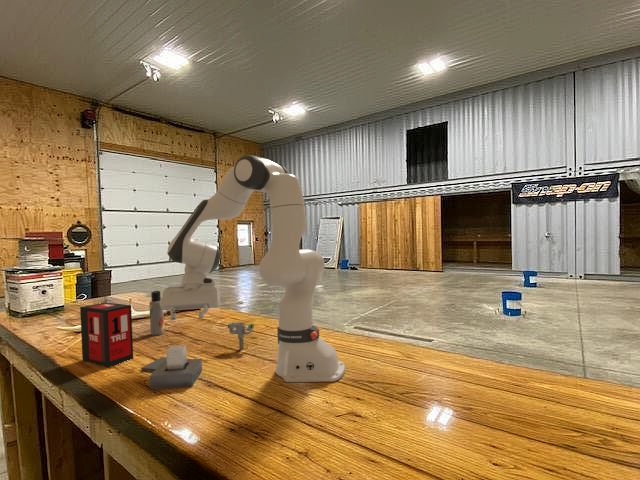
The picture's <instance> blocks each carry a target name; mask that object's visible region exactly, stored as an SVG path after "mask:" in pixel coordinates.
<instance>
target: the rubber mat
mask: <svg viewBox="0 0 640 480" xmlns="http://www.w3.org/2000/svg"><path fill="white" fill-rule="evenodd" d="M164 361H167V356H166V357H165V356H162V357H160V358H157V359H156V360H154V361H152V362H149V363H147V364H146V365H145V366H141V368H140V370H141V371H142V372H151V373H153V372H154V371H155V370H156V369H157V368H158V367H159V366H160V365H161V364H162V363H163V362H164Z"/></svg>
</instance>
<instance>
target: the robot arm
mask: <svg viewBox="0 0 640 480" xmlns="http://www.w3.org/2000/svg"><path fill="white" fill-rule="evenodd" d="M255 191H257V192H260V193H264V194H265V193H266V194H267V195H268V198H269V206H270V216H271V231H272V233H271V240H270V244H269V248H268V251H267V252H266V253H265V255H264V257H263V258H262V259H261V260H260V262H259V268H258V269H259V276H260V278H261V280H262V281H263V283H265V284H266V285H268V286H271V287H283V288H284V287H286V289H285V292H284V293H283V296H282V297H281V298H280V300H279V302H278V304H277V305H278V306H277V307H278V308H277V310H278V316H277V317H278V327H277V334H276V335H277V344H278V351H277V352H278V354H277V361H276V367H275V369H274V370H275V371H274V372H275V374H276V375H278V376H279V377H280V378H282V379H283V381H285V382H286V383H307V382H308V383H310V382H312V383H313V382H314V383H316V382H318V383H319V382H320V383H321V382H324V383H325V382H336V381H338V380H340V379H341V378H342V377H343V376H344V374H345V371H346V364H345V363H344V362H343V361H342V360H338V353H337V351H336V349H335V347H333V346H332V345H331V344H329V343H328V342H327V341H325V340H324V339H322V338H321V337H320V326H318V327H317V326H315V325H314V323H313V322H314V319H313V317H314V314H313V313H314V312H313V310H314V309H313V304H314V297H315V291H316V287H317V284H318V281H319V279H320V277H321V276H322V274H323V273H324V271H325V265H326V264H325V259H324V257H323V255H322V254H321V253H320V252H318V251H316V250H313V249H308V248H302V249H300V243H301V241H302V240H301V239H302V237H303V236H304V234H305V233H306V231H307V228H308V227H307V217H306V210H305V202H304V195H303V189H302V186H301V183H300V180H299V179H298V177H297V176H296V175H294V174H291V173H289V171H288V170H287V169H286V167H285V166H283V165H282V164H280V163H276V162H274V161H272V160H270V159H268V158H266V157H259V156H256V155H250V154H249V155H242V156H241V157H240V158H238V159H237V160H236V161H235V165H234V166H232V167H230V168H229V170H228V171H227V172H226V174H225V175H224V177H223V179H222V181H220V184H219V186H218V189H217V190H216V192H215V193H214V194H213V195H212V197H210V198H208V199H203V200H201V202H199V204H198V205H197V206H196V207H195V208H194V210H193V212H192V213H191V214H190V216H189V217H188V219H187V220H186V221H185V222H184V224H183V225H182V227H181V228H180V230H179V232H178V233H177V234H176V235H175V236H174V238H172V240H171V241H170V243H169V244H168V247H167V253H166V254H167V256H168V257H169V259H170V260H171V261H172V262H173V263H178V264H184V265H185V266H184V274H183V275H182V278H181V283H180V285H179V286H178V285H177V286H168V287H166V288H164V289H163V291H162V296H161V300H160V307H161V308H162V310H163V311H169V313H170V317H169V318H170V321H175V320H177V317H178V316H177V313H176V312H175V311H179V310H180V311H181V310H197V309H198V310H199V309H202V310H201V311H199V312H198V318H199V319H204V318H205V315H206V313H207V312H208V311H209V309H211V308H212V309H215V308H218V306H220V294H219V287H218V283H217V281H216V279H214V278H209V277H207V276H208V274H212V273H213V272H214V271H216V270H217V268H218V267H219V265H220V262H221V261H220V260H221V256H222V255H221V251H220V249H219V247H217V246H215V245H214V244H210V243H208V242H203V241H201V240H197V239H194V238H192V236H193V235H194V234H195V232H196V230H197V229H198V228H199V227H200V225H201V224H202V223H203V222H206V221H210V220H223V221H224V220H231V219H235V218H237V217H239V216H240V215H241V214H242V213H243V212H244V210H245V208H246V205H247V204H248V201H249V199H250V197H251V195H252V194H253V192H255Z"/></svg>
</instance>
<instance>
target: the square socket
mask: <svg viewBox="0 0 640 480" xmlns="http://www.w3.org/2000/svg"><path fill="white" fill-rule="evenodd" d="M202 372H203V358H202V357H201V358H191V359H189V358H187V367H186V368H185V370H176V371H167V361H164V362H163V363H162V364H161V365H160V366H159V367H158V368H157V369H156V370H155V371H154V372H151V374H150V375H149V390H150V391H151V390H154V391H155V390H163V389H164V390H165V389H167V390H168V389H175V388H176V389H178V388H191V387H194V385H195V382H196V381H197V380H198V379H199V376H200V375H201V373H202Z"/></svg>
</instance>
